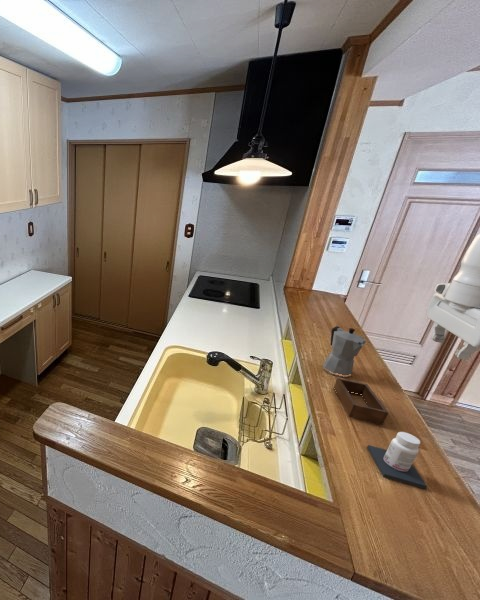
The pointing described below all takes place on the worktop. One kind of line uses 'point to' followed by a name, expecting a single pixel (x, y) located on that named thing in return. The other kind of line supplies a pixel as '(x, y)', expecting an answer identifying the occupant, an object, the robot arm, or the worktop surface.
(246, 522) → the worktop surface
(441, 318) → the robot arm
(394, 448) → the pill bottle
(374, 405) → the storage crate
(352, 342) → the coffeepot
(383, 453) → the rubber mat
